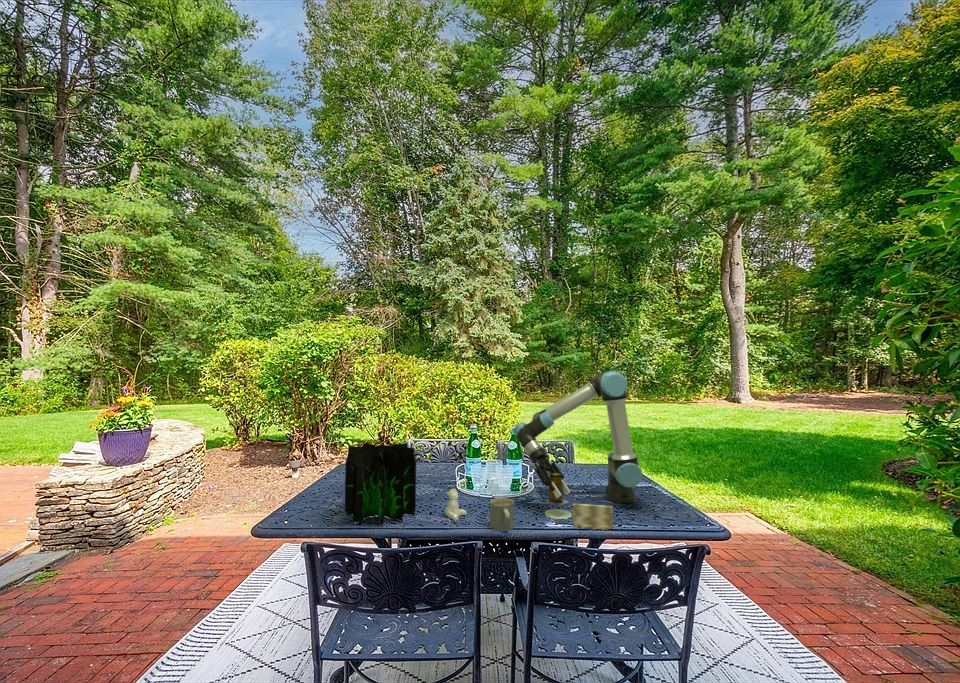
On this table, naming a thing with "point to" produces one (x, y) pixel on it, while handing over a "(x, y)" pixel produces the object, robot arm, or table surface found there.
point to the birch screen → (593, 516)
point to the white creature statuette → (454, 506)
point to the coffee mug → (501, 514)
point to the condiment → (558, 483)
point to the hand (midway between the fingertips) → (563, 495)
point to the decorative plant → (380, 481)
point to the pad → (558, 514)
